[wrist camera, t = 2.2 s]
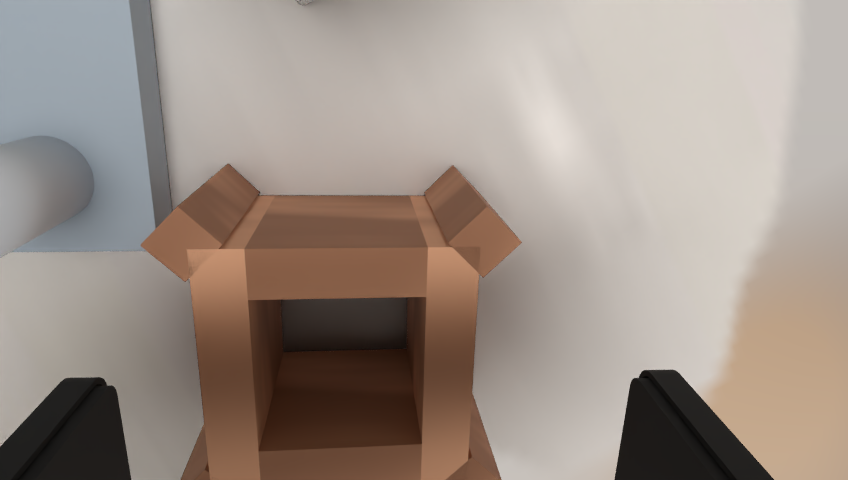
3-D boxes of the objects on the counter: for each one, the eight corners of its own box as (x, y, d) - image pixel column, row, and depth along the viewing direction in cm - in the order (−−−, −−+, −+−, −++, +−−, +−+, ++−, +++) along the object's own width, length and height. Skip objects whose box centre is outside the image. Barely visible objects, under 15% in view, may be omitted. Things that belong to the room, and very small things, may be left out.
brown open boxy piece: (467, 402, 20) (500, 508, 16) (220, 412, 19) (175, 528, 15) (480, 165, 18) (524, 206, 13) (197, 163, 17) (135, 206, 12)
